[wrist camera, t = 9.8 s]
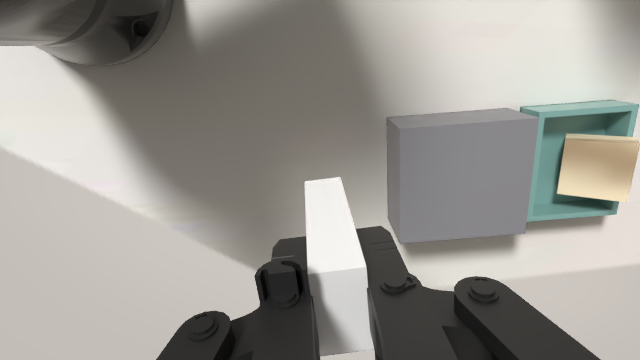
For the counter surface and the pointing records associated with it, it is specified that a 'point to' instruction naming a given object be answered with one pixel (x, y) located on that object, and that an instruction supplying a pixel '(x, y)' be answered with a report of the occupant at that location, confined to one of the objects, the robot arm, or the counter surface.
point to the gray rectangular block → (460, 174)
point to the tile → (598, 166)
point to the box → (550, 147)
